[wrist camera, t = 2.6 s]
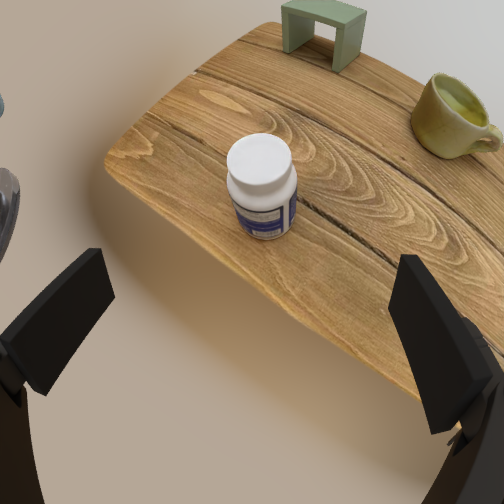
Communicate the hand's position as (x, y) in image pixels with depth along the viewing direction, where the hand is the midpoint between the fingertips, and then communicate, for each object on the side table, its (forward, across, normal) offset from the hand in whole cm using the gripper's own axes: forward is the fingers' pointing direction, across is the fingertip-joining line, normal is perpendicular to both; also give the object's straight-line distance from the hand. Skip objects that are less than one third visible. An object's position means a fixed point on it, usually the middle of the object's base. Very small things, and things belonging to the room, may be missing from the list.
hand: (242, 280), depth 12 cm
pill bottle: (+18, 0, -4) cm, 18 cm away
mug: (+27, +24, +5) cm, 36 cm away
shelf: (+39, +8, +18) cm, 44 cm away
